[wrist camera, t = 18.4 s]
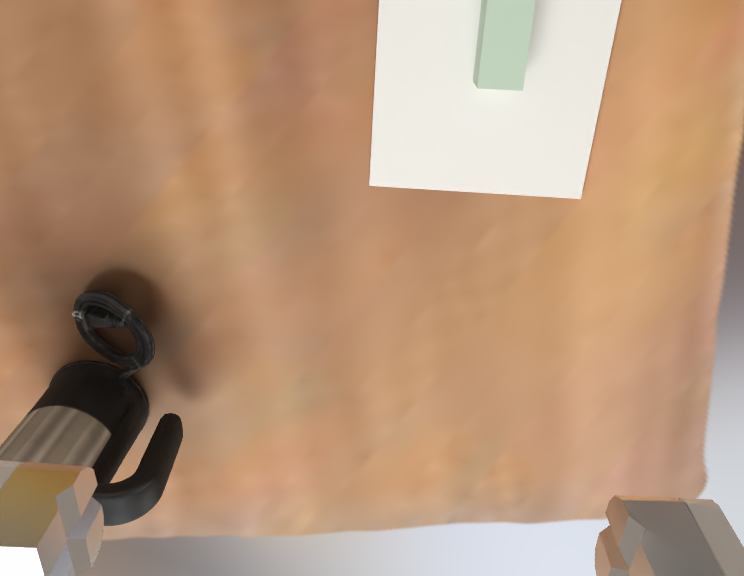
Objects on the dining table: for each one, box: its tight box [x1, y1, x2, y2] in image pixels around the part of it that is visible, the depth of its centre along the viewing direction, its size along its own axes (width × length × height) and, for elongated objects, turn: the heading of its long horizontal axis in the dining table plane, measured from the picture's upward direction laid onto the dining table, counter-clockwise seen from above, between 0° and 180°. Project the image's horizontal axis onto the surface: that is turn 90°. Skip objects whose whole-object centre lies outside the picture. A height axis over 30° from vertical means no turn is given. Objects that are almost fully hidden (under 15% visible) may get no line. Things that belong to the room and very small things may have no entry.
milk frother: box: [0, 290, 183, 526], centre depth 52 cm, size 14×16×15 cm
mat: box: [369, 0, 621, 199], centre depth 44 cm, size 24×16×1 cm, turn 177°
